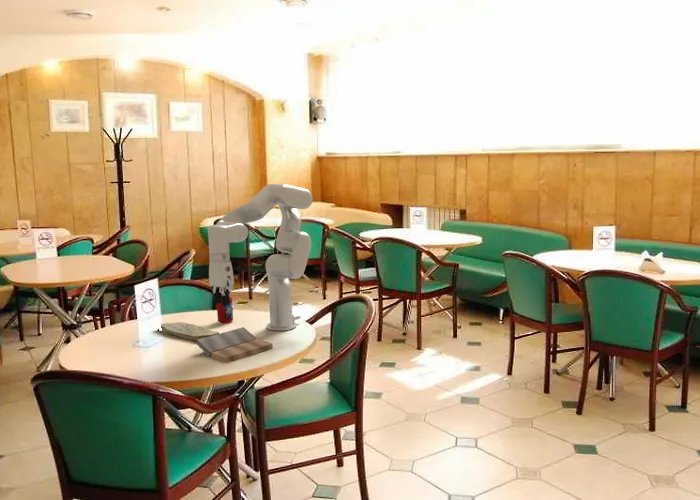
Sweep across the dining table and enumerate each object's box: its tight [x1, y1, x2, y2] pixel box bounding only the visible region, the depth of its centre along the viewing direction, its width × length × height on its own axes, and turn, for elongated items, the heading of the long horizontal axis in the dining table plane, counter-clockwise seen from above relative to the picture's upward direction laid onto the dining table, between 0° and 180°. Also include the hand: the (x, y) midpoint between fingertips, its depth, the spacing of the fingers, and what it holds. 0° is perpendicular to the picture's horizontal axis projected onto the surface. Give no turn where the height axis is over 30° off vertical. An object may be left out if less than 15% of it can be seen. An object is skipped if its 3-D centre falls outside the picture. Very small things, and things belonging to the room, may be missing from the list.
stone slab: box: [160, 321, 220, 342], centre depth 270 cm, size 12×4×30 cm
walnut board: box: [210, 338, 274, 364], centre depth 244 cm, size 22×9×2 cm, turn 138°
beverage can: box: [216, 294, 234, 324], centre depth 287 cm, size 7×7×12 cm
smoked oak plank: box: [196, 326, 258, 357], centre depth 249 cm, size 22×9×2 cm, turn 138°
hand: (221, 303), depth 249 cm, fingers open, 4 cm apart
